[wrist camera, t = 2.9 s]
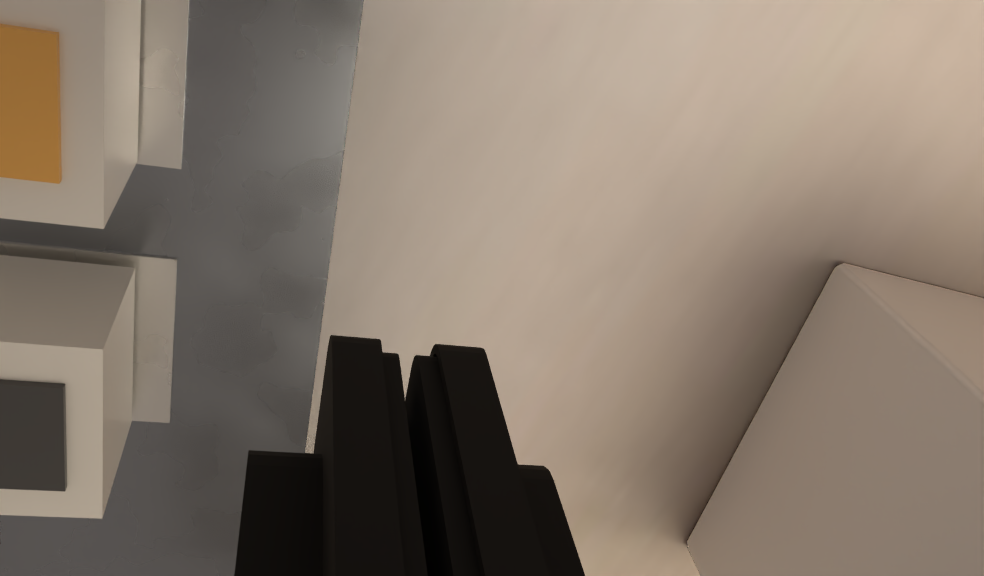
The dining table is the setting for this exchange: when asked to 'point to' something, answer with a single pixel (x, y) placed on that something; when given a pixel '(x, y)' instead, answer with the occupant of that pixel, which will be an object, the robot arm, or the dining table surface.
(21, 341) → the block
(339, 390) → the robot arm
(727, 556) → the gable box
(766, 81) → the dining table surface
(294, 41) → the panel
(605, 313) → the dining table surface
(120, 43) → the block
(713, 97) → the dining table surface
